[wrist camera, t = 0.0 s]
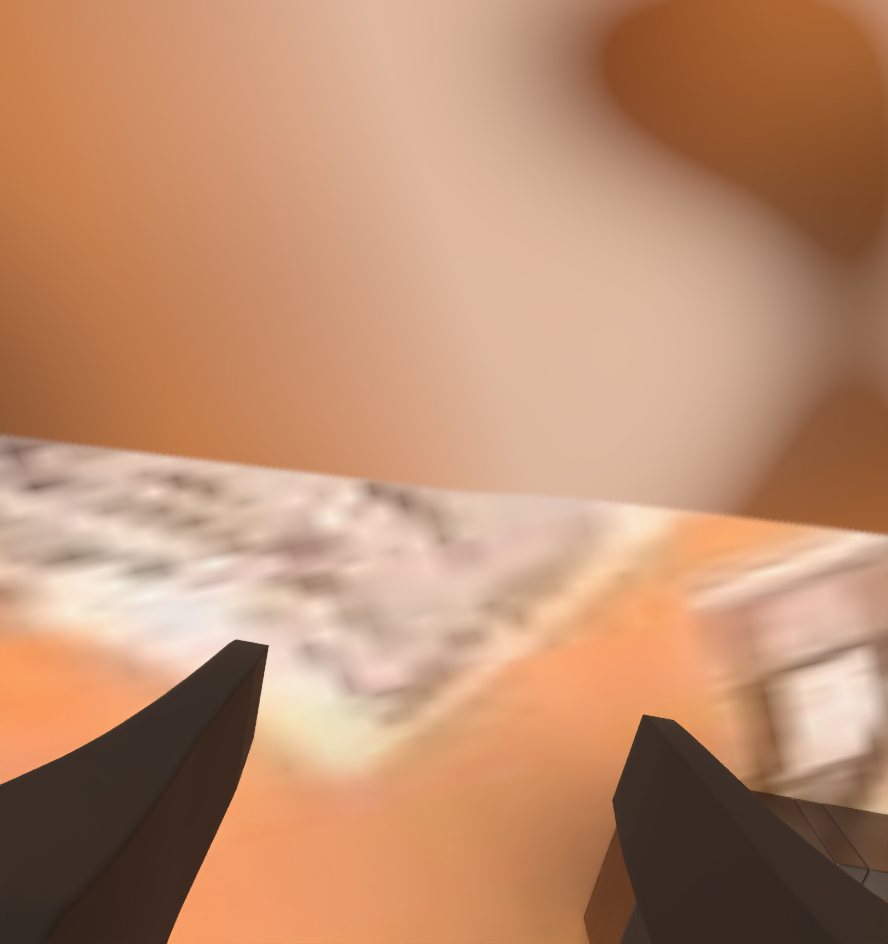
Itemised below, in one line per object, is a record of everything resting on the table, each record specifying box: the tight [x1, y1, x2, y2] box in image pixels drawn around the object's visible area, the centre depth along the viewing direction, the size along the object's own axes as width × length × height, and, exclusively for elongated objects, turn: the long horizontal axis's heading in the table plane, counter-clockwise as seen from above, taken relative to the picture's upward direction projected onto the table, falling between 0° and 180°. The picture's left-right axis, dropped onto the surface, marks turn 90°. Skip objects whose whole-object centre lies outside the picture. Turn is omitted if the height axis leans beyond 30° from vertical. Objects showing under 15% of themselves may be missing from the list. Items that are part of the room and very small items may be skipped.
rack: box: [584, 791, 888, 944], centre depth 25 cm, size 14×7×3 cm, turn 78°
